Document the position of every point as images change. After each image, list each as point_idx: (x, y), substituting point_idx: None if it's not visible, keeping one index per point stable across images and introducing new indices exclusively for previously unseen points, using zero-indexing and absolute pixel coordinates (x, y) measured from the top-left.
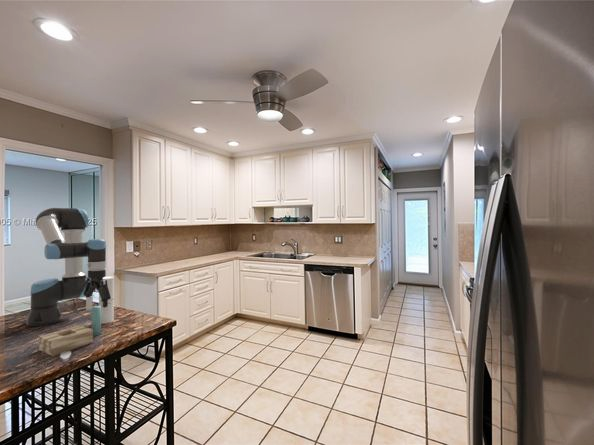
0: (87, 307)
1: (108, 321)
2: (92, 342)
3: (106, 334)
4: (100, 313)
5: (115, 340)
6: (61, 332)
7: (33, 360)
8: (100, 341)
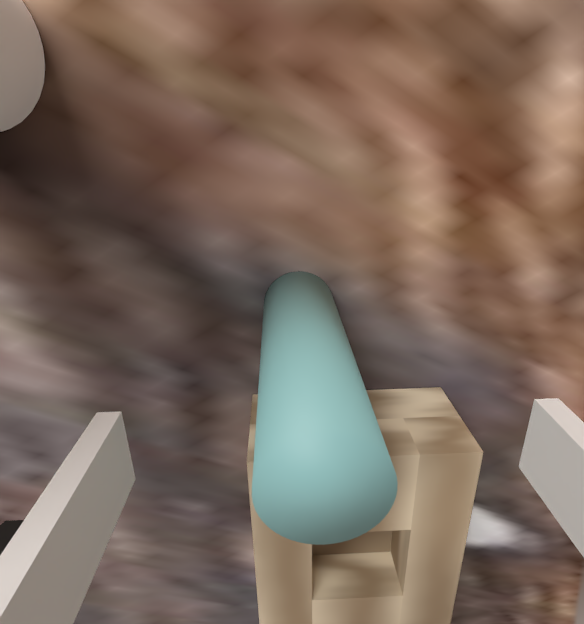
0: (118, 505)
1: (37, 62)
2: (440, 391)
3: (377, 259)
4: (365, 390)
5: (565, 284)
6: (308, 580)
7: None
8: (471, 352)
